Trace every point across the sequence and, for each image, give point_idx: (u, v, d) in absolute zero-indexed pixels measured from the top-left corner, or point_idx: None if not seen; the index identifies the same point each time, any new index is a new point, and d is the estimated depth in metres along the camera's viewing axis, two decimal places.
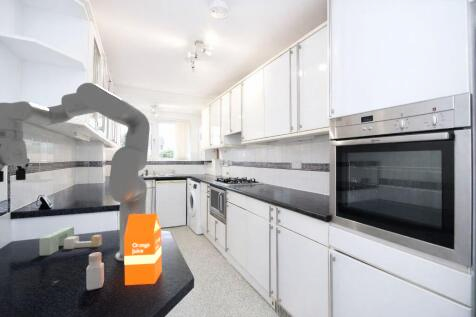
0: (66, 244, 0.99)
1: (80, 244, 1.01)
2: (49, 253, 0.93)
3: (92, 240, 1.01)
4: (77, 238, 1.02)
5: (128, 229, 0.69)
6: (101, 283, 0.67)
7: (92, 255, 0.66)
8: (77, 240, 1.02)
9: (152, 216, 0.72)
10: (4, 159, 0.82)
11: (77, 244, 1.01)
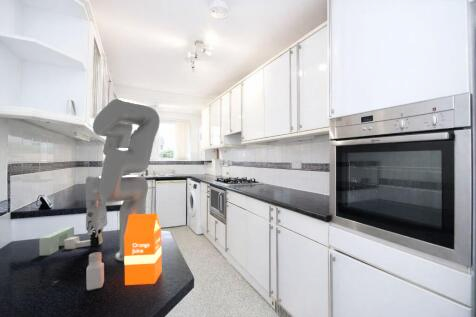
0: (66, 245, 0.99)
1: (81, 243, 1.01)
2: (49, 253, 0.93)
3: None
4: (77, 238, 1.02)
5: (128, 229, 0.69)
6: (101, 283, 0.67)
7: (92, 255, 0.66)
8: (77, 240, 1.02)
9: (152, 216, 0.72)
10: (95, 226, 0.98)
11: (78, 244, 1.01)
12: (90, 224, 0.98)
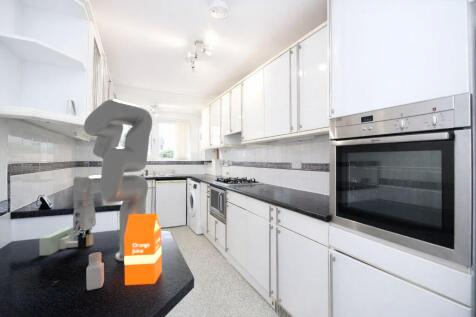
0: None
1: (71, 244, 1.00)
2: (49, 253, 0.93)
3: None
4: (68, 238, 1.02)
5: (128, 229, 0.69)
6: (101, 283, 0.67)
7: (92, 255, 0.66)
8: (68, 240, 1.02)
9: (152, 216, 0.72)
10: (83, 226, 0.97)
11: (68, 244, 1.00)
12: (77, 224, 0.97)
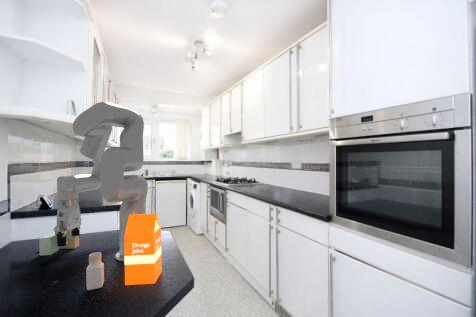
0: None
1: None
2: (49, 253, 0.93)
3: (69, 241, 1.00)
4: None
5: (128, 229, 0.69)
6: (101, 283, 0.67)
7: (92, 255, 0.66)
8: None
9: (152, 216, 0.72)
10: (66, 226, 0.97)
11: None
12: (60, 222, 0.96)
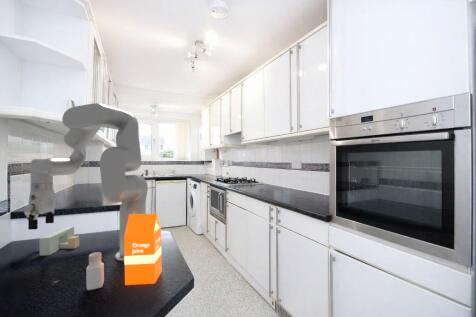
0: None
1: None
2: (49, 253, 0.93)
3: (69, 241, 1.00)
4: None
5: (128, 229, 0.69)
6: (101, 283, 0.67)
7: (92, 255, 0.66)
8: None
9: (152, 216, 0.72)
10: (38, 209, 0.96)
11: None
12: (32, 205, 0.95)
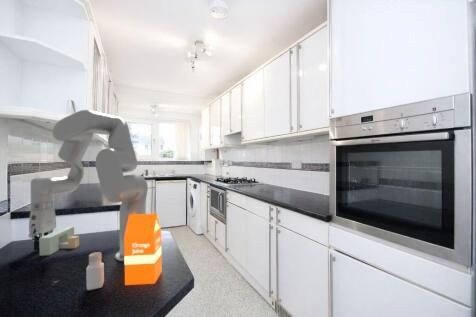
0: None
1: None
2: (49, 253, 0.93)
3: (68, 241, 1.00)
4: None
5: (128, 229, 0.69)
6: (101, 283, 0.67)
7: (92, 255, 0.66)
8: None
9: (152, 216, 0.72)
10: (39, 229, 0.96)
11: None
12: (33, 227, 0.95)
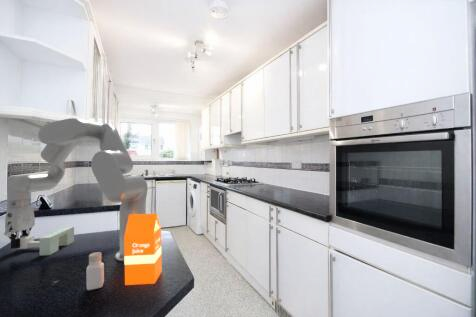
0: None
1: (34, 244, 0.99)
2: (49, 253, 0.93)
3: None
4: (32, 238, 1.00)
5: (128, 229, 0.69)
6: (101, 283, 0.67)
7: (92, 255, 0.66)
8: (31, 240, 1.00)
9: (152, 216, 0.72)
10: (15, 227, 0.95)
11: (31, 244, 0.99)
12: (9, 225, 0.94)
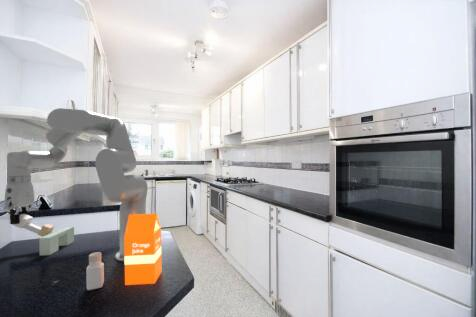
0: None
1: (29, 227, 0.99)
2: (49, 253, 0.93)
3: (42, 229, 0.99)
4: (30, 219, 1.01)
5: (128, 229, 0.69)
6: (101, 283, 0.67)
7: (92, 255, 0.66)
8: (29, 221, 1.00)
9: (152, 216, 0.72)
10: (15, 202, 0.95)
11: (26, 225, 0.99)
12: (9, 200, 0.95)
